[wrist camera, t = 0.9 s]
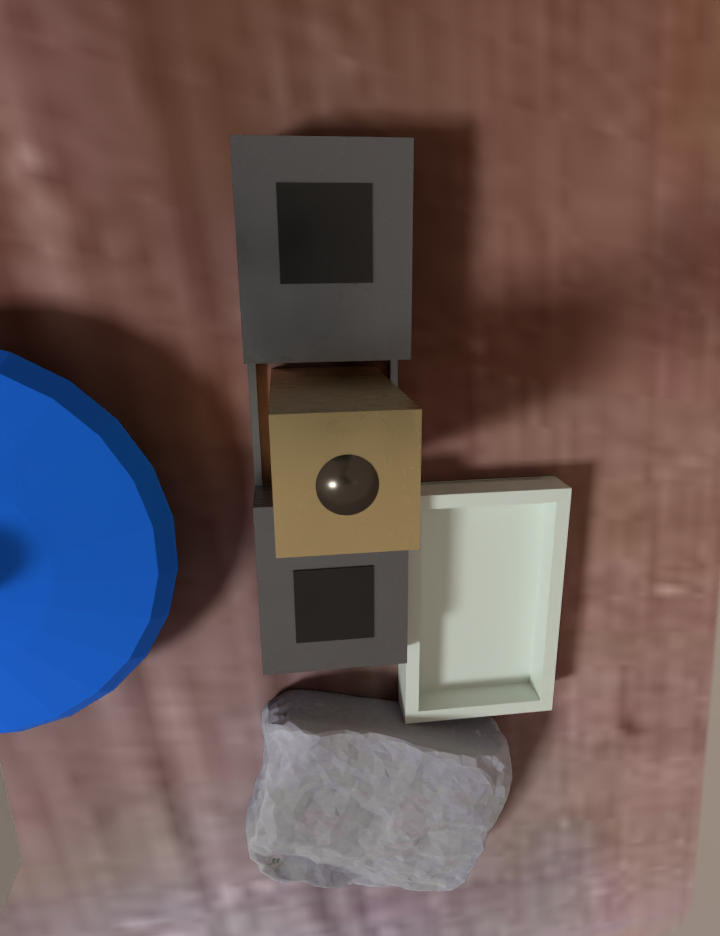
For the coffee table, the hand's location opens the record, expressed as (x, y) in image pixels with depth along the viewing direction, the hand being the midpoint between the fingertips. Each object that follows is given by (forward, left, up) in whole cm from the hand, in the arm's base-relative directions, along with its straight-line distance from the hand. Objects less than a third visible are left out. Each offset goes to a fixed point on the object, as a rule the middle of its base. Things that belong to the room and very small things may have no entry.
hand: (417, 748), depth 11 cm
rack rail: (-2, 0, -17) cm, 17 cm away
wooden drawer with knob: (-2, 0, -17) cm, 17 cm away
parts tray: (+7, +6, -17) cm, 20 cm away
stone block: (+17, +1, -18) cm, 25 cm away
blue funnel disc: (+2, -14, -18) cm, 23 cm away
